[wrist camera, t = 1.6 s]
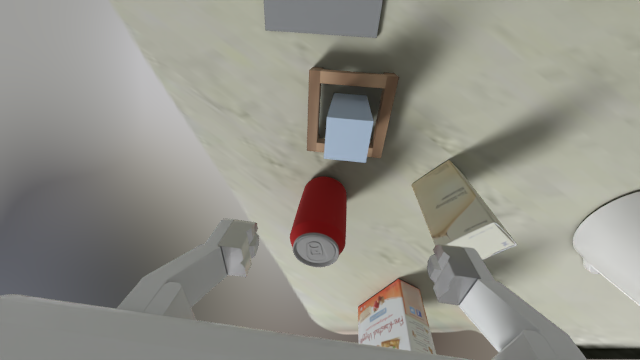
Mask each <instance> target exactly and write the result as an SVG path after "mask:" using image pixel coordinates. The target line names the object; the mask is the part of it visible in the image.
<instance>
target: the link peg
mask: <svg viewBox="0 0 640 360" xmlns="http://www.w3.org/2000/svg"><path fill="white" fill-rule="evenodd" d="M373 122H374V121H373V117H372V114H371V110H370V106H369V102H368V99H367V96H364V95H353V94H341V93H334V95H333V98H332V101H331V105H330V108H329V112H328V115H327V122H326V135H325V148H324V159H334V160H343V161H353V162H362V163H366V159H367V154H368V148H369V143H370V138H371V132H372V127H373Z"/></svg>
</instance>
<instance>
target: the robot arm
mask: <svg viewBox="0 0 640 360" xmlns="http://www.w3.org/2000/svg"><path fill="white" fill-rule="evenodd" d="M257 229H258V227H257V223H255V222H248V221H242V220H233V219H223V220H221V222H220V223H219V225H218V226H217V227H216V229H215V230H214V232H213V233H212V235H211V236H210V237H209V239H208V240H207V242H206V243H205V245H203V244H201V245H199V246H197V247H196V248H194V249H192V250H191V251H189V252H187V253H185V254H184V255H181V256H180V257H178V258H176V259H174V260H173V261H171V262H169V263H167V264H166V265H164V266H162V267H160V268H159V269H157V270H155V271H153V272H151V273H150V274H148V275H146V276H144V277H143V278H142V279H141V280H140V282H139V283H138V284H137V285H136V286H135V288H134V289H133V290H132V291H131V292H130V293H129V294H128V296H127V297H126V298H125V299H124V300H123V302H122V303H121V304H120V305H119V306H118V307H117V309H114V308H107V307H100V306H93V305H86V304H79V303H72V302H65V301H58V300H52V299H45V298H38V297H31V296H24V295H17V294H9V295H3V296H0V360H471V359H463V358H457V357H450V356H443V355H436V354H429V353H422V352H415V351H408V350H401V349H394V348H387V347H380V346H373V345H366V344H359V343H352V342H345V341H338V340H331V339H323V338H316V337H310V336H303V335H296V334H289V333H282V332H275V331H268V330H261V329H254V328H247V327H240V326H233V325H226V324H219V323H212V322H205V321H198V320H196V318H195V316H194V314H193V311H192V309H191V307H192V306H193V305H194V304H195V303H197V302H198V301H199V300H200V299H201V298H202V297H203V296H205V295H206V294H207V293H208V292H209V291H210V290H211V289H212V288H214V287H215V286H216V285H217V284H219V283H220V282H221V281H222V280H223V279H224V278H225V277H227V275H234V276H244V277H246V276H247V274H248V271H249V269H250V266H251V264H252V263H251V258H253V257H254V256H255V255H256V252H257V249H258V245H259V236H258V235H257V233H256V232H257ZM573 246H574V248H575V250H576V251H577V252H578V253H579V254H580V255H581V256H582V257H583V263H584V267H585V268H586V269H587V270H588V271H590V272H591V273H594V274H602V275H603V276H604V277H605V278H606V279H608V280H609V281H610V282H611V283H612V284H614V285H615V286H616V287H617V288H619V289H620V290H621V291H622V292H623V293H625V294H626V295H627V296H628V297H630V298H631V299H632V300H633V301H634V302H636V303H637V304H638V305H639V306H640V191H639V192H636V193H632V194H629V195H626V196H624V197H621V198H619V199H617V200H614V201H612V202H610V203H608V204H606V205H605V206H603V207H601V208H600V209H598V210H597V211H595V212H594V213H592V214H591V215H590V216H589V217H587V218H586V219H585V220H584V221H583V222H582V223H581V225H580V226H579V227H578V229H577V230H576V232H575V234H574V237H573ZM433 250H434V253H435V254H434V255H432V256H430V258H429V260H428V266H427V269H428V274H429V277H430V279H431V280H432V281H433V282H434V283H435V284H434V286H433V289H434V292H435V294H436V297H437V300H438V302H441V303H447V304H453V305H459V307H460V308H461V310H462V311H463V312H464V313H465V314H466V315H467V316H468V318H469V319H470V320H471V321H472V322H473V323H474V325H475V326H476V327H477V328H478V329H479V330H480V331H481V333H482V334H483V335H484V336H485V337H486V338H487V339H488V341H489V342H490V343H491V344H492V345H493V346H494V347H495V349H496V350H497V351H498V352H499V353H498V354H497V355H496V356H495V357H494V358H493V359H492V360H587V359H586V358H585V357H584V355H583V354H582V352H581V351H580V350H579V348H578V347H577V346H576V344H575V343H574V342H573V340H572V339H571V338H570V336H569V335H568V334H567V333H565V332H564V331H563V330H561V329H560V328H559V327H557V326H556V325H555V324H554V323H552V322H551V321H550V320H548V319H547V318H546V317H544V316H543V315H542V314H541V313H539V312H538V311H537V310H535V309H534V308H533V307H532V306H530V305H529V304H528V303H526V302H525V301H524V300H522V299H521V298H520V297H519V296H517V295H516V294H515V293H513V292H512V291H511V290H509V289H508V288H507V287H506V286H504V285H503V284H502V283H500V282H497V281H495V280H494V278H493V276H492V275H491V273H490V271H489V270H488V268H487V267H486V265H485V263H484V262H483V260H482V259H481V257H480V255H479V254H478V252H477V251H476V250H475V249H474V248H469V247H459V246H450V245H441V244H437V245H436V246H435V248H434V249H433Z"/></svg>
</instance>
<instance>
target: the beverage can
mask: <svg viewBox="0 0 640 360" xmlns="http://www.w3.org/2000/svg"><path fill="white" fill-rule="evenodd" d="M346 202H347V195H346V190H345V188H344V186H343V185H342V184H341V183H340V182H339V181H337V180H336V179H333V178H330V177H317V178H314V179H312V180H311V181H309V182H308V183H307V185H306V186H305V189H304V191H303V194H302V198H301V201H300V204H299V207H298V210H297V213H296V217H295V220H294V223H293V227H292V230H291V234H290V241H291V244H292V247H293V253H294V255H295V257H296V258H297V259H298V260H299V261H300V262H302V263H304V264H306V265H309V266H313V267H325V266H329V265H331V264H333V263H334V262H335V261H336V260H337V259H338V256H339V255H340V253H341V252H342V251H343V249H344V247H345V238H346Z"/></svg>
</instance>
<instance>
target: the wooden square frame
mask: <svg viewBox="0 0 640 360" xmlns="http://www.w3.org/2000/svg"><path fill="white" fill-rule="evenodd" d="M398 79H399V77H398V76H397V75H396V74H395V73H384V74H376V73H363V72H350V71H337V70H325V69H323V68H320V67H313V68H311V69H310V70H309V97H308V131H307V151H316V152H324V148H325V139H320V138H319V134H318V131H319V113H320V96H321V83H324V84H337V85H349V86H361V87H373V88H383V89H382V94H381V100H380V105H379V110H378V115H377V120H376V125H375V130H374V136H373V139H371V142H370V143H369V148H368V154H367V157H374V158H381V155H382V150H383V146H384V141H385V137H386V132H387V128H388V124H389V119H390V115H391V110H392V106H393V101H394V97H395V93H396V88H397V84H398Z"/></svg>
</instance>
